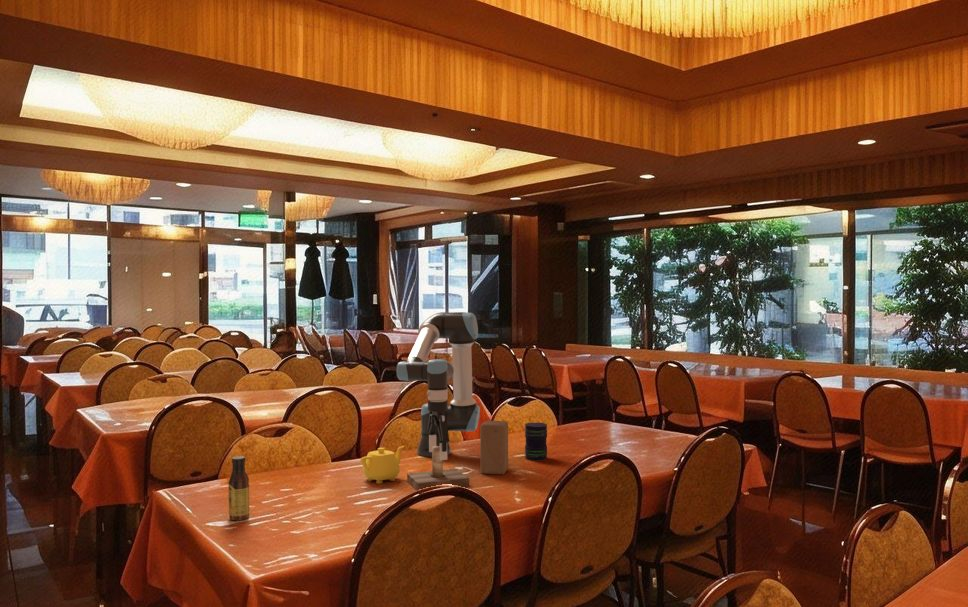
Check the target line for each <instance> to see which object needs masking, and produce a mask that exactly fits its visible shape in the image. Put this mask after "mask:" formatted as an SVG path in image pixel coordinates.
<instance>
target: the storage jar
mask: <svg viewBox="0 0 968 607" xmlns="http://www.w3.org/2000/svg"><path fill="white" fill-rule="evenodd" d="M524 438H525V445H524V455H525V456H524V458H525V460H527V461H533V462H538V461H539V462H541V461H546V460H547V459H548V446H547V438H548V424H547V423H543V422H528V423H527V422H526V423H525V424H524Z"/></svg>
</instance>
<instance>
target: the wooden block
mask: <svg viewBox="0 0 968 607" xmlns="http://www.w3.org/2000/svg"><path fill="white" fill-rule="evenodd" d="M479 431H480V433H479V434H480V435H479V436H480V438H479V440H480V444H479V445H480V447H479V448H480V455H479V456H480V457H479V458H480V460H479V461H480V471H479V472H480V473H481V474H484V475H505V474H506V472H507V470H508V469H509V422H508V421H506V420H505V421H504V420H485V421H484V422H483V423H481V424H480V430H479Z"/></svg>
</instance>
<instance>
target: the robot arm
mask: <svg viewBox="0 0 968 607" xmlns="http://www.w3.org/2000/svg"><path fill="white" fill-rule="evenodd" d="M417 335H418V336H417V337H416V339H415V342H414V344H413V346H412V349H411V351H410V353H409V355H408V358H407V359H406V361H405V360H404V361H399V362H397V365H396V377H397V379H398V380H399V381H406V382H408V381H409V382H410V381H411V382H413V381H414V382H418V381H419V382H421V381H423V382H427V392H426V395H427V399H428V401H427V403H424V404H423V405H422V406H421V411H420V435H421V436H420V440H419V443H418V446H417V449H416V450H417V452H416V453H417V455H419V456H421V457H426V458H427V457H428V458H429V457H430V458H432V447H434V446H440V460H443V461H447V460H448V456H449V455H450V454H451V445H450V443H449V442H450V436H449V435H450V434H449V432H465V433H468V432H474V431H476V430H477V428H478V426H479V421H480V413H481V406H480V405H477V401H476V399H475V398H474V397H473V368H472V367H473V365H472V364H473V362H472V361H473V359H472V358H473V357H472V354H473V353H472V346H473V345H474V344H475V341H476V339H478V338H479V326H478V320H477V317H476V315H475V314H474V313H473V312H467V311H461V312H459V311H457V312H455V311H454V312H453V311H452V312H451V311H450V312H446V311H445V312H437V313H434V314H432V315H430V316H429V317H427V318H426V319H425V320H423V321H422V323H421V324H420V325H419V328H418V332H417ZM439 339H447V340H448V344H449V345H450V346H451V350H452V353H451V354H452V355H451V356H452V363H451V362H449V361H447V360H446V359H444V358H438V359H436V358H435V359H434V358H433V359H430V360H428V358H429V356H430V353H431V352H432V349H433V347H434V344H435V342H437V341H438V340H439ZM450 379H452V388H453V393H452V394H453V398H452V400H450V404H448V392H449V391H448V381H449V380H450Z"/></svg>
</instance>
